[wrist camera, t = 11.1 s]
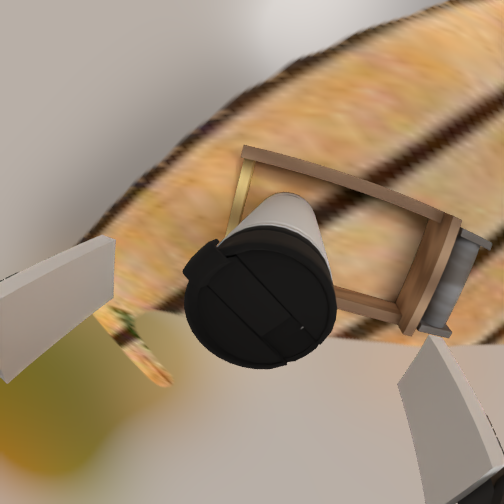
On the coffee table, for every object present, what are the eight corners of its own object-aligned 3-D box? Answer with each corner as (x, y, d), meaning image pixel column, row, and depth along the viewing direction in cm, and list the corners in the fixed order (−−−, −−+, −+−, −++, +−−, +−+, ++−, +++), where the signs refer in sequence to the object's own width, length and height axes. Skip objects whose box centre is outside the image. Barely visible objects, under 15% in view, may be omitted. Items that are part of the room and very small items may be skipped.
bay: (249, 147, 28) (239, 143, 23) (472, 227, 25) (495, 237, 21) (221, 262, 32) (207, 279, 27) (431, 322, 30) (446, 344, 25)
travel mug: (286, 176, 28) (257, 196, 9) (327, 226, 29) (371, 333, 10) (241, 216, 30) (145, 300, 11) (282, 262, 31) (251, 401, 12)
